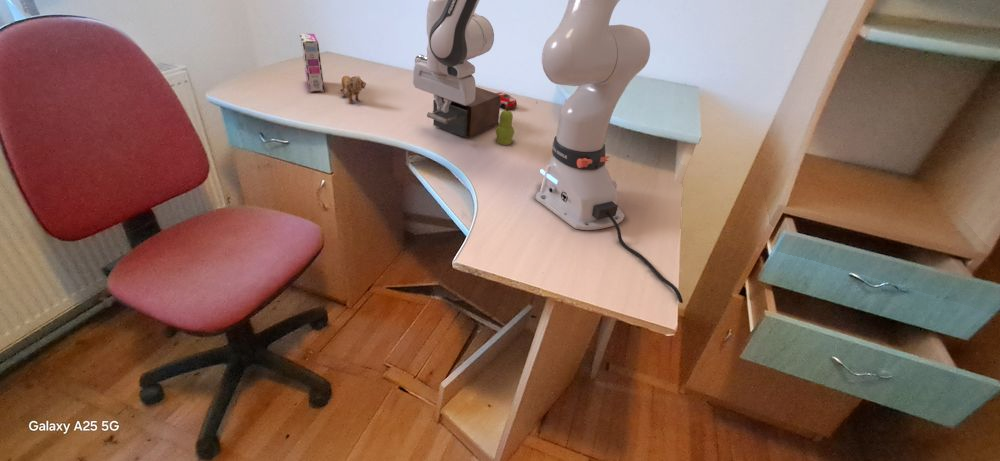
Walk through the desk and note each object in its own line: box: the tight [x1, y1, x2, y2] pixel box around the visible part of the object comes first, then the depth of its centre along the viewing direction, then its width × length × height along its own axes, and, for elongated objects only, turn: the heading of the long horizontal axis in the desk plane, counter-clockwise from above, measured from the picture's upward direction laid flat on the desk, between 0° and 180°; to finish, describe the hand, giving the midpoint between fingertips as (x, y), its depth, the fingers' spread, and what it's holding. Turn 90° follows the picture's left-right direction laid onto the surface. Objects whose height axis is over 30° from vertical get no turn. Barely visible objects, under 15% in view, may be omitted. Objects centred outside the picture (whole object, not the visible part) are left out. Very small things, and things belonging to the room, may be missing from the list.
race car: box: [495, 92, 518, 110], centre depth 158 cm, size 13×5×4 cm, turn 54°
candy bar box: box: [299, 33, 326, 93], centre depth 153 cm, size 11×5×16 cm, turn 25°
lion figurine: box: [340, 75, 367, 105], centre depth 149 cm, size 15×5×9 cm, turn 44°
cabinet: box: [441, 86, 501, 139], centre depth 139 cm, size 15×13×10 cm
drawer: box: [426, 99, 469, 137], centre depth 136 cm, size 19×12×8 cm, turn 145°
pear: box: [495, 107, 515, 146], centre depth 131 cm, size 5×5×11 cm
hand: (442, 111), depth 130 cm, fingers closed
